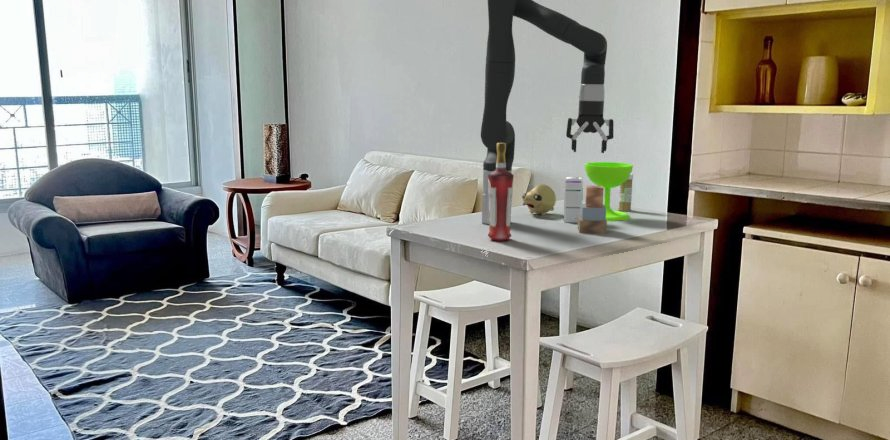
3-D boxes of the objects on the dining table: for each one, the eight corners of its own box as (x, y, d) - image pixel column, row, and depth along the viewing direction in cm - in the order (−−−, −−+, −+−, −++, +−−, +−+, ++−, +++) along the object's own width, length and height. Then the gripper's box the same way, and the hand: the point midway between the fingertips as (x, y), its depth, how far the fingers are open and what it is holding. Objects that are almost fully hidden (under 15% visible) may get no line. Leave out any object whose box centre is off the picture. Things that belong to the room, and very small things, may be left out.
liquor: (485, 237, 215) (486, 142, 210) (510, 236, 216) (512, 142, 211) (488, 242, 208) (490, 144, 203) (514, 242, 209) (516, 144, 204)
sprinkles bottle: (616, 209, 265) (618, 172, 263) (628, 209, 266) (630, 172, 263) (620, 211, 261) (622, 174, 258) (633, 211, 261) (635, 174, 259)
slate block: (582, 220, 222) (582, 207, 222) (581, 216, 229) (581, 203, 228) (605, 221, 221) (606, 208, 221) (603, 217, 228) (604, 204, 228)
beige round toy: (516, 214, 253) (517, 184, 251) (538, 210, 261) (539, 181, 259) (539, 218, 246) (540, 187, 244) (560, 214, 255) (561, 184, 253)
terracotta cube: (586, 207, 222) (586, 187, 221) (585, 204, 227) (586, 185, 226) (602, 207, 222) (603, 188, 221) (601, 205, 226) (602, 185, 225)
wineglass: (632, 221, 241) (635, 167, 238) (583, 220, 244) (585, 166, 241) (628, 213, 257) (630, 162, 254) (582, 212, 259) (584, 161, 256)
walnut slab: (579, 233, 223) (579, 220, 222) (577, 228, 230) (578, 216, 230) (606, 234, 222) (606, 221, 221) (603, 229, 230) (604, 216, 229)
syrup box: (581, 223, 239) (583, 179, 236) (563, 222, 240) (564, 178, 237) (581, 220, 244) (583, 176, 241) (564, 219, 245) (565, 176, 243)
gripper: (568, 99, 221) (565, 152, 224) (616, 100, 219) (613, 154, 222) (567, 98, 228) (565, 150, 231) (614, 99, 226) (610, 151, 229)
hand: (588, 152), depth 226 cm, fingers open, 8 cm apart
